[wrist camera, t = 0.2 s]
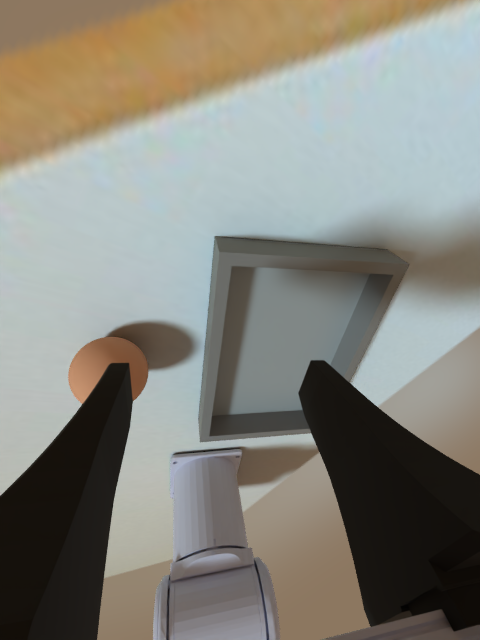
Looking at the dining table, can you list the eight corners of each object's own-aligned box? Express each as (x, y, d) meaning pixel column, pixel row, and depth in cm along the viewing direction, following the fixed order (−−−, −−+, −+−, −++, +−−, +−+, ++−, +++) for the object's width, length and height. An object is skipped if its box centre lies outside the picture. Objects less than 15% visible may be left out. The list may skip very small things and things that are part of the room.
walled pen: (314, 411, 31) (323, 432, 29) (198, 419, 29) (199, 442, 27) (387, 249, 21) (409, 264, 19) (214, 236, 18) (219, 251, 16)
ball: (151, 371, 24) (146, 423, 20) (86, 373, 23) (66, 429, 19) (149, 322, 21) (142, 372, 17) (74, 322, 20) (48, 375, 16)
